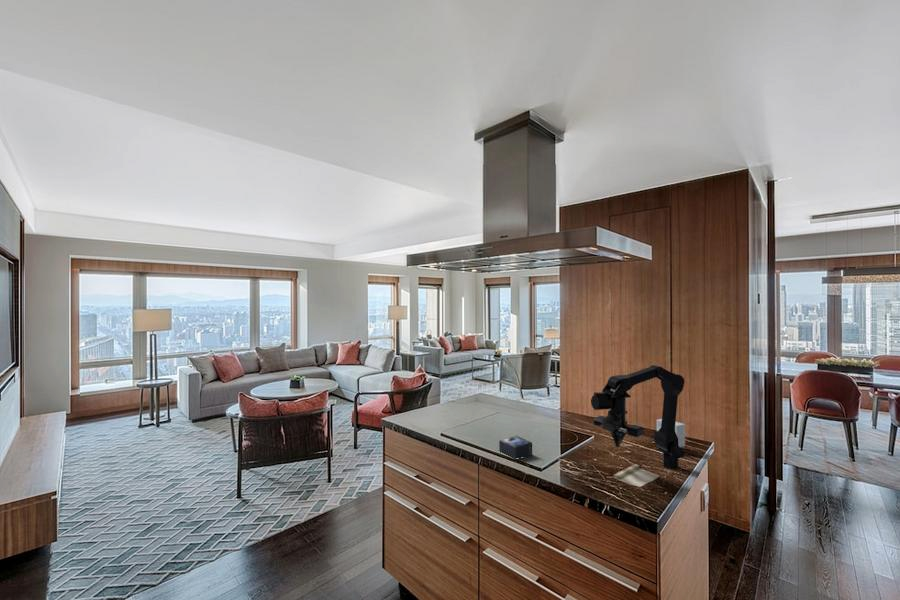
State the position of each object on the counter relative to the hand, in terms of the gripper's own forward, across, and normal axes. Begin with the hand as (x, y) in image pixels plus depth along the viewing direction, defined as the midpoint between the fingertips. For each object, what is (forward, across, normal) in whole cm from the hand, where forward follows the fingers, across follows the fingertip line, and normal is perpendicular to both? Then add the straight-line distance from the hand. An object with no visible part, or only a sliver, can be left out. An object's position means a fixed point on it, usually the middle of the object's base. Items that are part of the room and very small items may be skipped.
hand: (617, 446), depth 152 cm
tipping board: (+10, +4, 0) cm, 10 cm away
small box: (+6, -35, -17) cm, 39 cm away
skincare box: (+10, 0, +47) cm, 48 cm away
